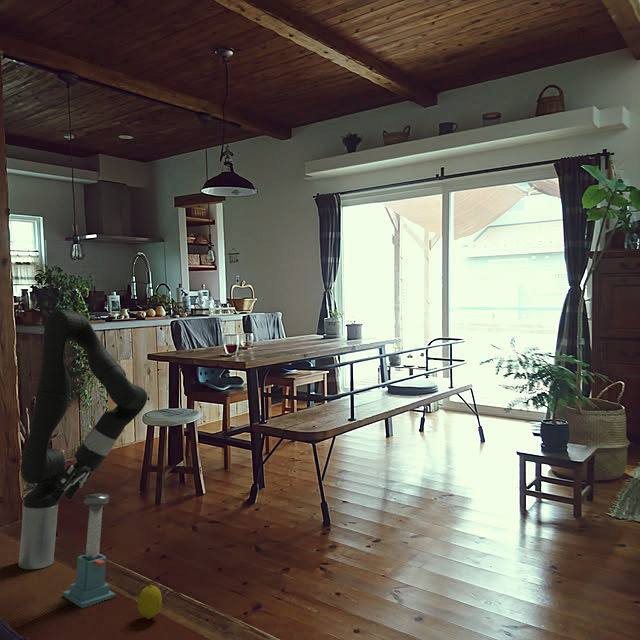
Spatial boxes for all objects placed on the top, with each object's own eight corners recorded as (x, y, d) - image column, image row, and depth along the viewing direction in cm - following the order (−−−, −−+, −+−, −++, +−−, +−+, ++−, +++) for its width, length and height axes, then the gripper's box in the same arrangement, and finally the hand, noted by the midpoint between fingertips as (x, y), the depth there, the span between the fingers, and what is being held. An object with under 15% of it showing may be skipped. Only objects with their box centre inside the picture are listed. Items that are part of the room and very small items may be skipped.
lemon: (153, 625, 132) (156, 590, 133) (132, 622, 133) (134, 587, 134) (164, 615, 138) (167, 582, 138) (144, 612, 139) (146, 579, 139)
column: (72, 591, 146) (80, 495, 147) (94, 585, 150) (101, 492, 152) (84, 598, 142) (91, 500, 144) (106, 592, 146) (113, 496, 148)
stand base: (62, 595, 146) (66, 556, 146) (95, 586, 153) (98, 548, 153) (82, 608, 139) (85, 567, 140) (115, 597, 146) (118, 558, 147)
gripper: (95, 440, 164) (61, 489, 161) (73, 440, 150) (36, 494, 147) (116, 454, 163) (82, 504, 160) (96, 455, 149) (59, 510, 146)
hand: (60, 499), depth 153 cm, fingers open, 8 cm apart
